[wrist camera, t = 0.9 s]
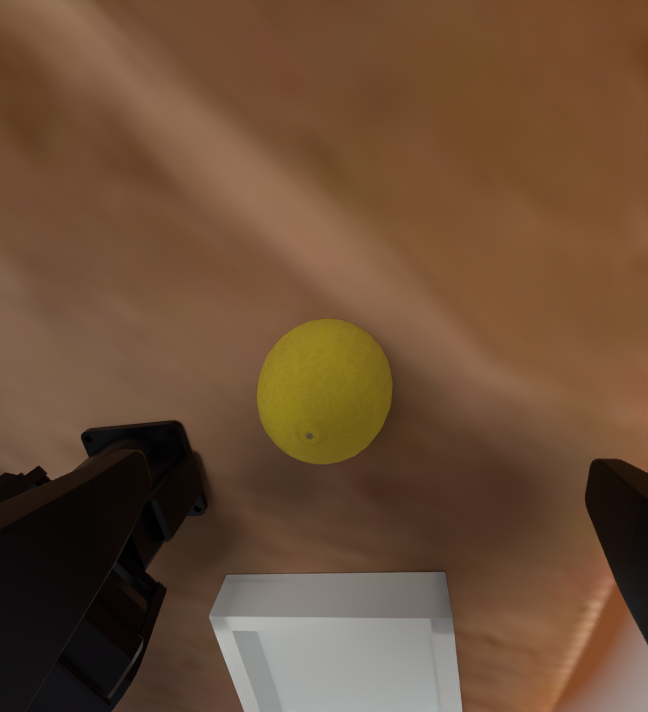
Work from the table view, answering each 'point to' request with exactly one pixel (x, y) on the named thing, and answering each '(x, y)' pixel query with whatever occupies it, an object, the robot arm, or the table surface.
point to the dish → (339, 642)
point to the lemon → (324, 391)
